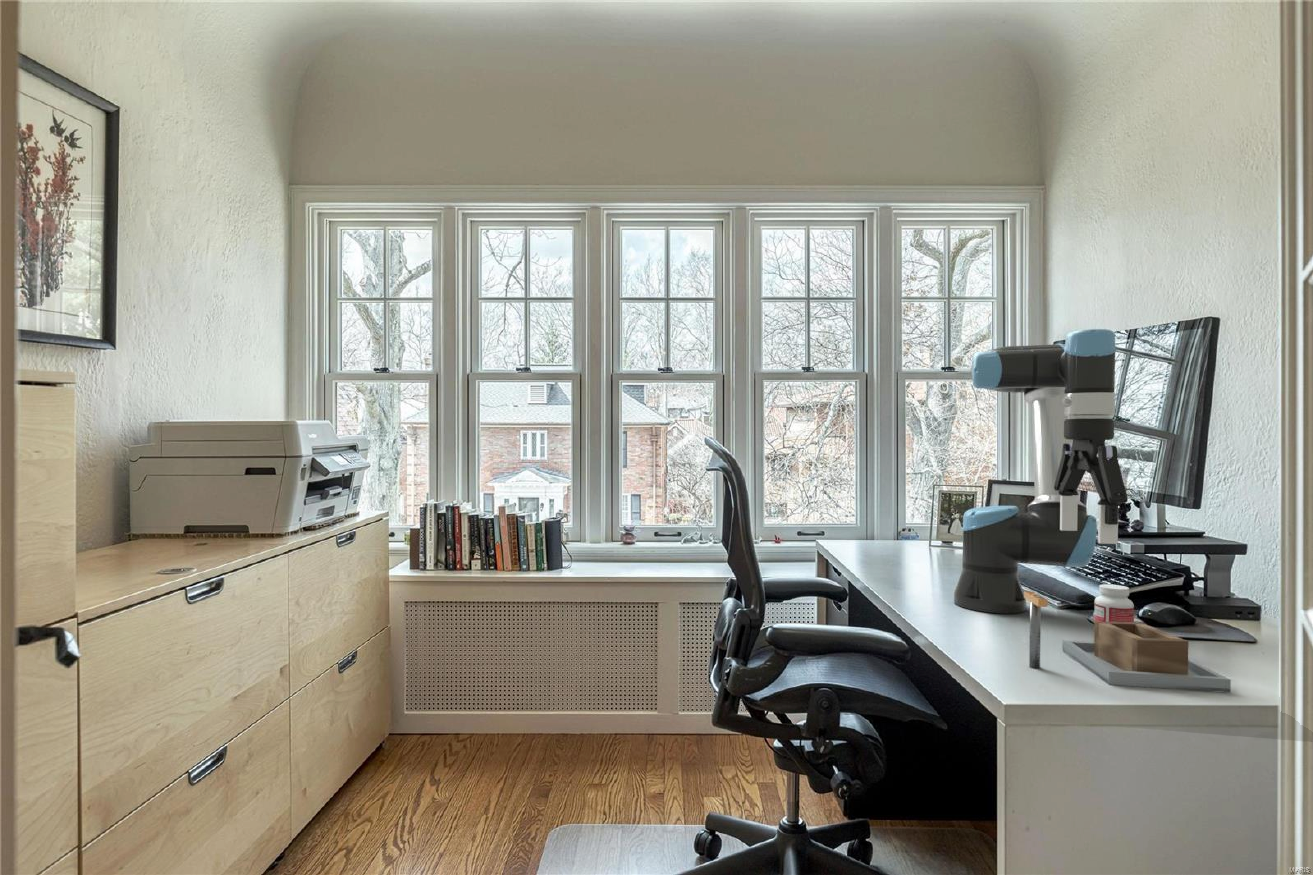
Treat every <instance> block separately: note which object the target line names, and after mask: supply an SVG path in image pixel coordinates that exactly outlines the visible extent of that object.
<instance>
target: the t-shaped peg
mask: <svg viewBox="0 0 1313 875" xmlns="http://www.w3.org/2000/svg"><path fill="white" fill-rule="evenodd" d="M1023 592H1024V598H1025V599H1026V601H1029V654H1028V657H1029V659H1028V660H1029V668H1032V669H1040V668H1041V626H1042V625H1041V617H1042V616H1041V612H1042V610H1041V609H1042V608H1045V607H1046V608H1048V599H1047V598H1045V597H1043V596H1042V595H1041V594H1038V593H1037V592H1034V591H1033V590H1023Z"/></svg>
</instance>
